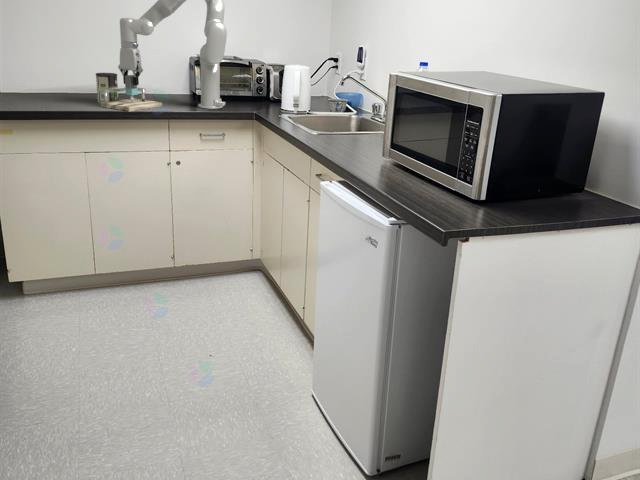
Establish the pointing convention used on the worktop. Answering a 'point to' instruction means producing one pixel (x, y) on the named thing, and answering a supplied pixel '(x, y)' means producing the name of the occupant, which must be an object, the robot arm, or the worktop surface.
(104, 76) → the coffee can
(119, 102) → the hole plate
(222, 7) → the robot arm
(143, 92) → the divider frame
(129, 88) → the block
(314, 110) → the worktop surface
